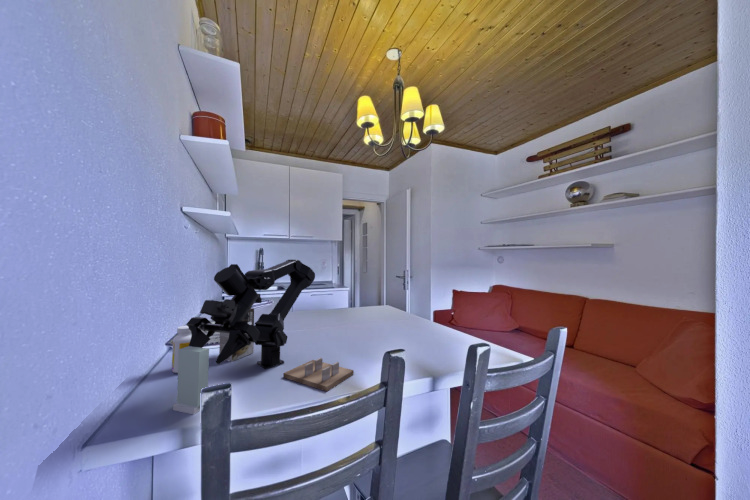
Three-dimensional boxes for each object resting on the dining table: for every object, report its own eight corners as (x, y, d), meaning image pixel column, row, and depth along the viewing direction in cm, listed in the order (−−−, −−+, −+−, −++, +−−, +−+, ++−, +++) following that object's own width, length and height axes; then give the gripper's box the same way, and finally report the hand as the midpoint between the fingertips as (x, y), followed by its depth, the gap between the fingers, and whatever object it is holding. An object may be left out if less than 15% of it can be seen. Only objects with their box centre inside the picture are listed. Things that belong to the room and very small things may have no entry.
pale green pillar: (190, 400, 62) (192, 345, 63) (210, 404, 61) (212, 347, 61) (173, 410, 59) (175, 350, 59) (193, 414, 57) (196, 353, 58)
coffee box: (241, 350, 97) (242, 306, 98) (254, 353, 95) (255, 307, 96) (218, 359, 89) (219, 310, 90) (231, 362, 87) (233, 312, 87)
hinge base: (283, 377, 75) (283, 362, 76) (312, 363, 86) (313, 350, 86) (326, 391, 67) (327, 374, 68) (353, 374, 78) (353, 359, 78)
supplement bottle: (203, 366, 83) (205, 324, 83) (184, 375, 76) (185, 330, 77) (186, 364, 84) (187, 323, 85) (165, 372, 78) (167, 328, 78)
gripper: (194, 286, 71) (147, 339, 59) (253, 288, 65) (213, 347, 54) (218, 311, 78) (179, 362, 67) (272, 315, 73) (240, 372, 61)
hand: (201, 361), depth 62 cm, fingers open, 9 cm apart
